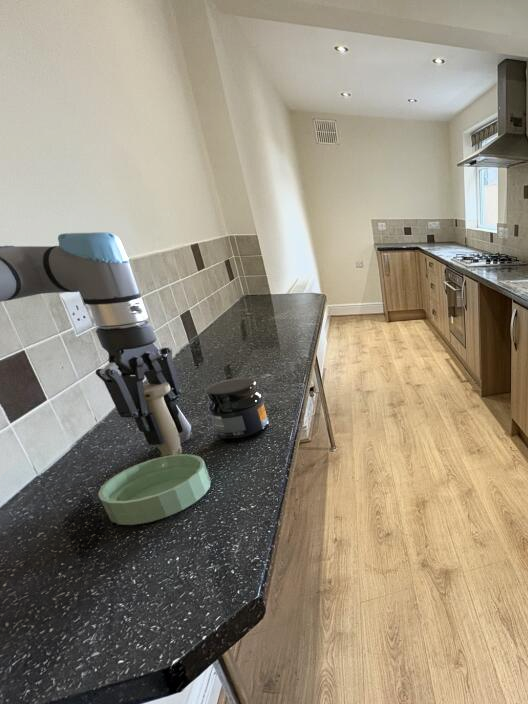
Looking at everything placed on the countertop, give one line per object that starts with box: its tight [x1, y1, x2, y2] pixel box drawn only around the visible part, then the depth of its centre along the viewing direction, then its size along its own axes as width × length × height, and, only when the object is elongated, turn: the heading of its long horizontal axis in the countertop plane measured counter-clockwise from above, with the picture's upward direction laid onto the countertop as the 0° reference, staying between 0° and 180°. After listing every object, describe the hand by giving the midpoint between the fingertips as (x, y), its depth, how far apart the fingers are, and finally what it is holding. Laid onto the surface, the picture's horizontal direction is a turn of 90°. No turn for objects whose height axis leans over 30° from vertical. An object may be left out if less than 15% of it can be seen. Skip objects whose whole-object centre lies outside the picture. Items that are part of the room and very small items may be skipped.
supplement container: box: [204, 377, 270, 444], centre depth 93 cm, size 10×10×12 cm
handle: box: [143, 382, 183, 457], centre depth 81 cm, size 5×6×15 cm
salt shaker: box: [176, 404, 192, 444], centre depth 90 cm, size 6×6×13 cm
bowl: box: [97, 453, 212, 526], centre depth 72 cm, size 14×14×5 cm
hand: (166, 437), depth 82 cm, fingers closed on handle, 4 cm apart
